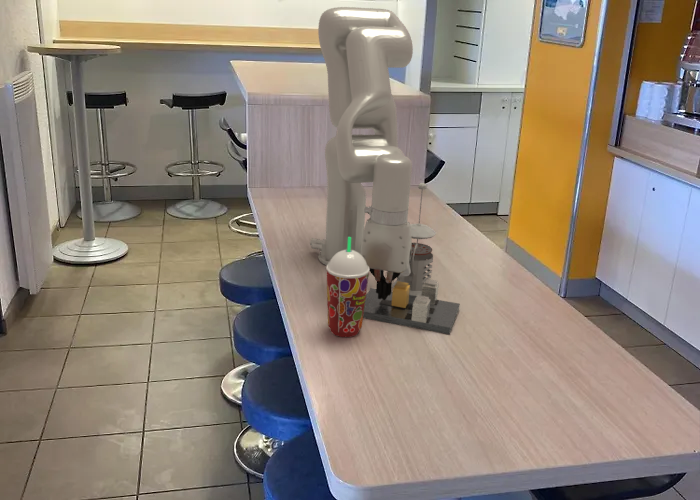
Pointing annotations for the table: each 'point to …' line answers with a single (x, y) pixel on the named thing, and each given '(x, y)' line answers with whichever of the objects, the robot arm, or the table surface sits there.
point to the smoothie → (346, 291)
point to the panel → (399, 313)
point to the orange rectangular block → (400, 294)
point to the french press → (419, 256)
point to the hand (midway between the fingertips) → (383, 296)
